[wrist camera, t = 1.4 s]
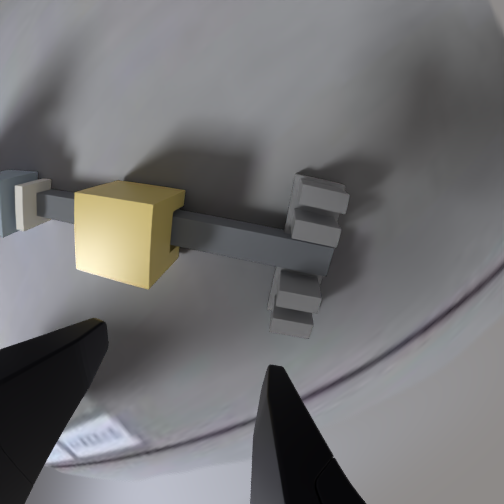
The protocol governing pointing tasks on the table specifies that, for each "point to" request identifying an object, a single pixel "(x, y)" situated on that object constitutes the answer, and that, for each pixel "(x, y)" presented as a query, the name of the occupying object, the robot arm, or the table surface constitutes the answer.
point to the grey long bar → (182, 232)
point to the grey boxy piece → (311, 230)
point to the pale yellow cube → (126, 231)
